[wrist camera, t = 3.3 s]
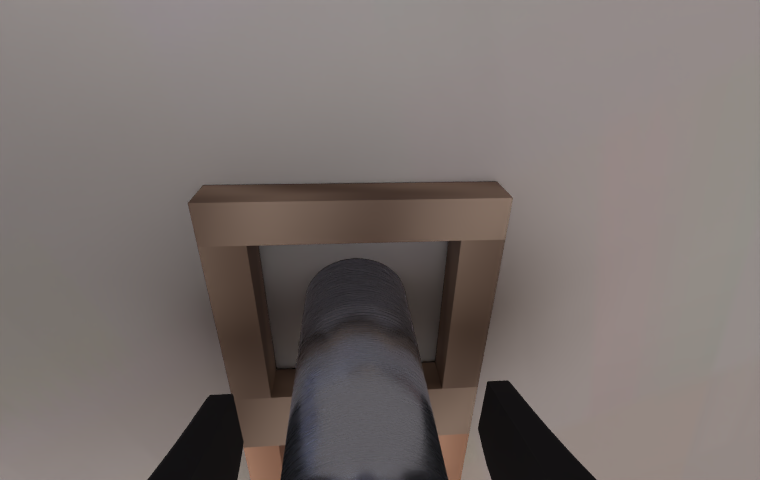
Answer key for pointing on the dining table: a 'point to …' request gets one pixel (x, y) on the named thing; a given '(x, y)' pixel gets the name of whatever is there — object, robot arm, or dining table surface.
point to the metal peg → (360, 383)
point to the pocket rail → (336, 226)
